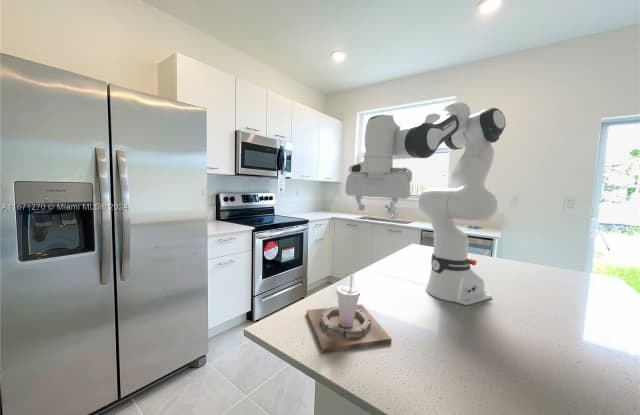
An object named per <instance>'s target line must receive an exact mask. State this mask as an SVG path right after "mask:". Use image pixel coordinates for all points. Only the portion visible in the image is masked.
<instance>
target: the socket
mask: <svg viewBox="0 0 640 415" xmlns="http://www.w3.org/2000/svg"><path fill="white" fill-rule="evenodd" d="M371 314H372V313H370V312H369V311H368V310H367V309H366V308H365V306H364V305H363V304H357V308H356V312H355V317H354V322H353V326H352V327H343V326H341V325H340V321H339V305H338V306H330V307H326V308H325V307H324V308H316V309H315V308H313V309H307V310H306V316H307V318H308V321H309V323H310V325H311V329H312V331H313V334H314V336H315V338H316V340H317V343H318V345H319V348H320V350H321V353H322V354H327V353H333V352H334V353H335V352H340V351H347V350H353V349H361V348H368V347H374V346H380V345H381V346H382V345H388V344H392V339H393V338H392V337H391V336H390V335H389V334H388V333H387V331H386V330H385V329H384V328H383V327H382V326H381V325H380V323H379V322H378V321H377V320H376V319H375V317H373V315H371Z"/></svg>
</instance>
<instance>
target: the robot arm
mask: <svg viewBox="0 0 640 415" xmlns="http://www.w3.org/2000/svg"><path fill="white" fill-rule="evenodd" d="M394 119H395V118H394V115H393V114H390V113H381V114H377V115H374V116H371V117H369V118H368V120H367V123H366V126H365V134H364V147H365V151H364V152H365V153H364V155H363V161H361V162H358V163H356V164H352V165H349V167H348V173H349V174H348V175H347V177H346V180H345V181H346V182H345V191H344V192H345V194H346V195H347V196H351V197H355V201H356V203H357V205H358V211H365V209H366V208H365V206H366V204H363V202H362V199H363V197H367V198H368V197H369V198H385V199H391V205H390V206H387V208H386V209H387V211H386V212H387V213H388V214H393V213H394V208H395V207H396V205H398V204H397V203H398V202H399V199H401V200H402V199H403V200H404V199H405V200H407V199H409V198H410V197H411V182H412V179H413V172H412V171H411V170H410V169H409V168H407V167H393V163H394V162H393V160H400V159H401V160H405V159H427V158H430V157H431V156H433V155H434V153H436V151H437V150H438V148H439V147H440V146H441V145H442V144H443V143H444V144H445V146H446V147H447V148H449V149H451V150H454V151H455V150H456V151H457V150H461V149H463V148H464V152H463V154H462V155H461V157H460V158H459V159H458V161H457V163H456V166H455V167H454V169H453V170H452V173H451V182H452V184H453V185H454V187H455V188H453V187H452V188H451V187H450V188H448V187H434V188H428V189H425V190H423V191H422V193H420V195H419V198H418V207H419V210H420V211H421V212H422V213H423V214H424V215H425V216H426V218H427V219H428V221H429V223H430V224H431V227H432V231H433V253H432V254H431V270H430V274H429V278H428V281H427V284H426V287H425V292H426V293H427V294H429V295H431V296H433V297H434V298H437V299H440V300H442V301H443V300H444V301H447V302H452V303H457V304H461V305H465V306H469V305H472V304H476V303H479V302H484V301H486V300H490V299H492V294H491V293H490V292H488V291H487V290H485V281H484V279H483V278H482V277H481V276H480V275H479V274H478V273H476V272H475V271H474V270H473V269H472V268H471V266H476V265H477V264H478V260H476V259H473V258H468V252H469V245H470V244H469V243H470V240H469V237H468V235H467V234H466V232H464V231H463V230H461V229H460V228H459V227H458V226H457V225H456V223H455V220H459V221H466V222H486V221H489V220H491V219H492V218H493V217H494V216H495V214H496V212H497V210H498V202H497V198H496V197H495V195H494V194H493V193H492V192H491V191H490V190H488V189H487V188H486V187H485V181H486V179H487V176H488V174H489V171H490V170H491V167H492V164H493V161H494V155H495V151H494V148H493V146H492V144H493V143H496V142H498V140H499V139H500V136H502V134H503V132H504V130H505V127H506V124H507V123H506V118H505V115H504V113H503V111H501V110H500V109H499V108H496V107H491V108H486V109H483V110H481V111H480V112H477V113H474V114H471V109H470V106H469V105H468V104H467V103H465V102H463V101H454V102H452V101H451V102H448V103H446V104H443V105H440V106H437V107H436V108H435V109H433V110H432V111H430V112H429V113H428V114H427V115H426V117H425V120H424V122H423V123H422V122H421V123H418V124H415V125H411V126H407V127H402V126H399V125H398V123H396V122H395V120H394Z"/></svg>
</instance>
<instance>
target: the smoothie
mask: <svg viewBox="0 0 640 415" xmlns="http://www.w3.org/2000/svg"><path fill="white" fill-rule="evenodd" d="M353 276H354V275H353V274H350V278H349V285H348V284H346V285H339V286H338V287H337V288H336V295H337V301H338V302H337V303H338V306H339V321H340V325H341V326H343V327H352V326H353V322H354V317H355V312H356V308H357V305H358V302H359V297H360V296H361V290H360V289H359V288H358V287H356V286H353Z"/></svg>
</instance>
